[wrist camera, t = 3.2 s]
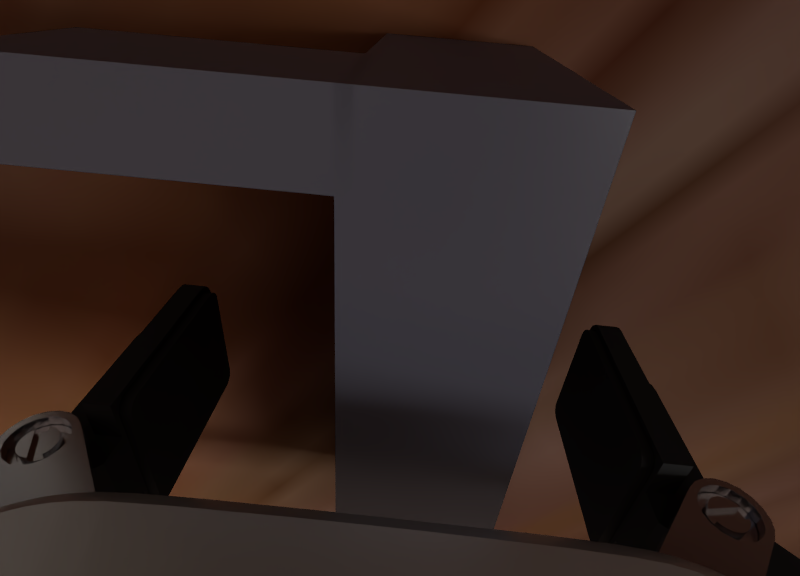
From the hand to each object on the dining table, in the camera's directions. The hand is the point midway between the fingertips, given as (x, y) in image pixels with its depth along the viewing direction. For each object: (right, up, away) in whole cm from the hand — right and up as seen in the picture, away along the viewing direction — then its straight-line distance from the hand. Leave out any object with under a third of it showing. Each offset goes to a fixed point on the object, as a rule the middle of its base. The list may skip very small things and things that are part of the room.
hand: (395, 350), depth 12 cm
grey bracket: (-1, +1, +2) cm, 2 cm away
